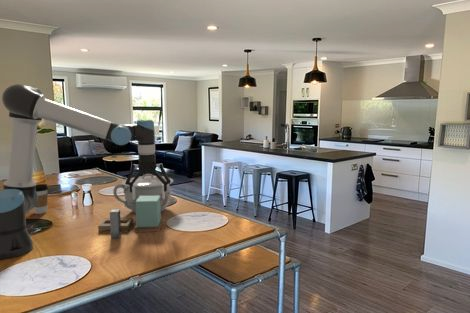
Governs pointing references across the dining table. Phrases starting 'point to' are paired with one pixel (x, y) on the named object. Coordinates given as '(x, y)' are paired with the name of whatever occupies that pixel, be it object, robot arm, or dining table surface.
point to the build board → (125, 225)
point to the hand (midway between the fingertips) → (149, 198)
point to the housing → (148, 211)
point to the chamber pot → (144, 190)
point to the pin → (115, 224)
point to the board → (149, 228)
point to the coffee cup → (41, 199)
